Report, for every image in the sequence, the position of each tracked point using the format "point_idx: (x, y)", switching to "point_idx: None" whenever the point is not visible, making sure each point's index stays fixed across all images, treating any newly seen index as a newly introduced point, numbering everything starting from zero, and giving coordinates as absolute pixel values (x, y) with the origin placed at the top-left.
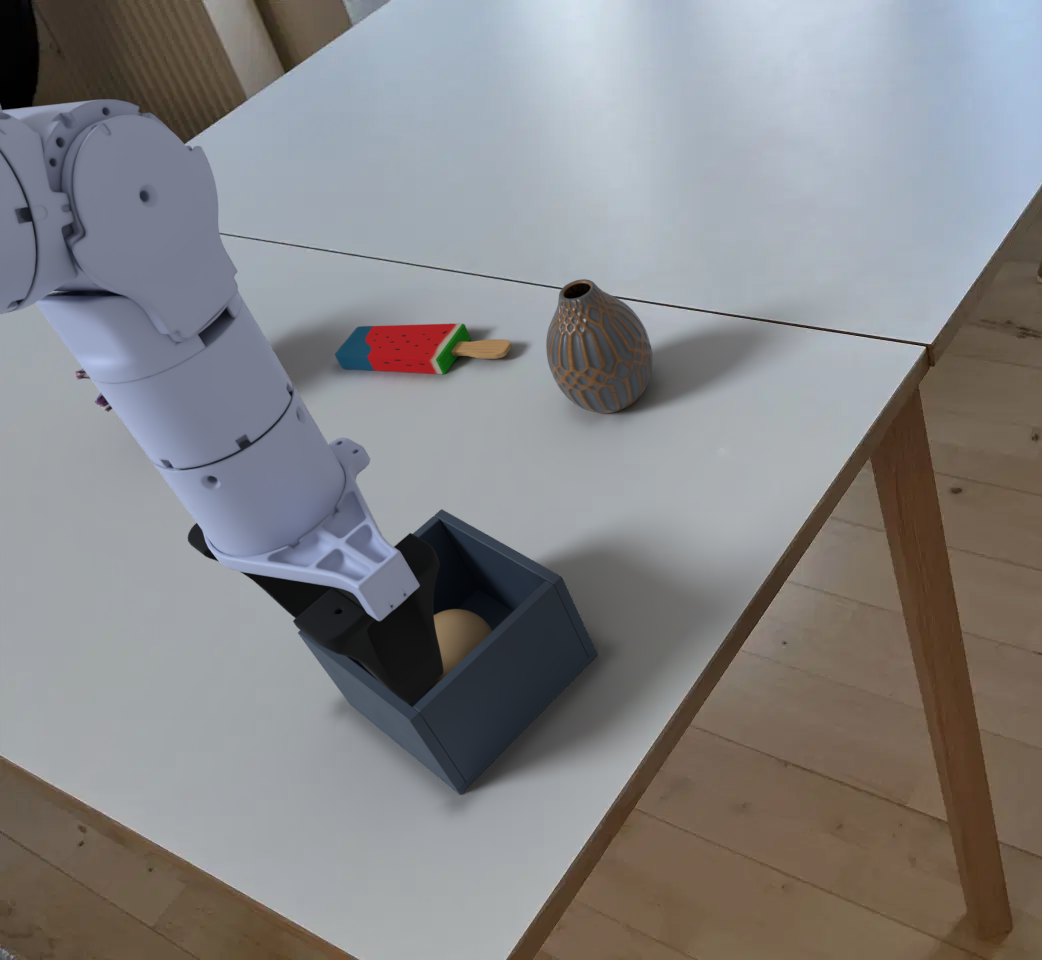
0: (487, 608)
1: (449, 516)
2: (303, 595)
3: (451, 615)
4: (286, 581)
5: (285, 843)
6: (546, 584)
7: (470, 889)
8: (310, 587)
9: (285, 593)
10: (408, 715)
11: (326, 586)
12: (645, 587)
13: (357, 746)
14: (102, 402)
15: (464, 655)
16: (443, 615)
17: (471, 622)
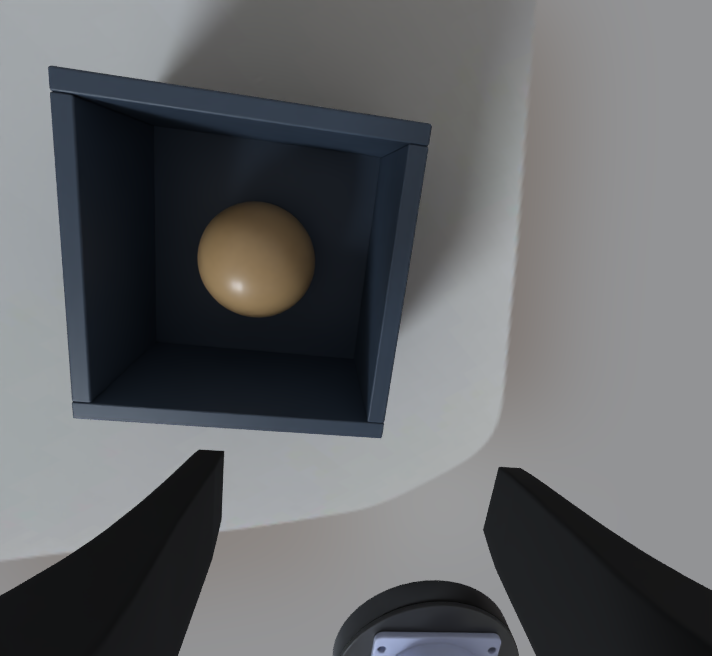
0: (198, 150)
1: (88, 79)
2: (197, 564)
3: (250, 246)
4: (176, 625)
5: (233, 485)
6: (417, 153)
7: (437, 426)
8: (197, 551)
9: (185, 617)
10: (373, 434)
11: (206, 507)
12: (387, 5)
13: None
14: None
15: (304, 279)
16: (238, 252)
17: (279, 235)
